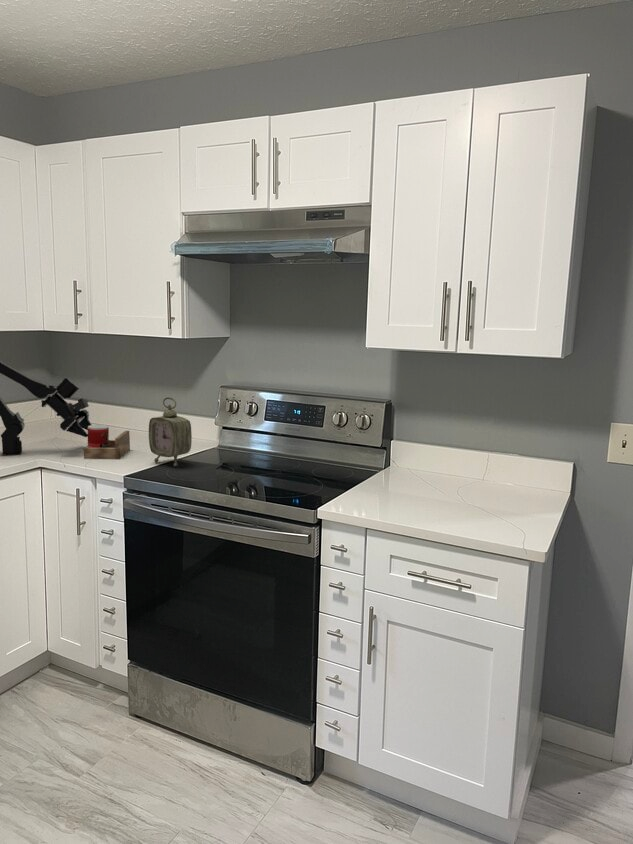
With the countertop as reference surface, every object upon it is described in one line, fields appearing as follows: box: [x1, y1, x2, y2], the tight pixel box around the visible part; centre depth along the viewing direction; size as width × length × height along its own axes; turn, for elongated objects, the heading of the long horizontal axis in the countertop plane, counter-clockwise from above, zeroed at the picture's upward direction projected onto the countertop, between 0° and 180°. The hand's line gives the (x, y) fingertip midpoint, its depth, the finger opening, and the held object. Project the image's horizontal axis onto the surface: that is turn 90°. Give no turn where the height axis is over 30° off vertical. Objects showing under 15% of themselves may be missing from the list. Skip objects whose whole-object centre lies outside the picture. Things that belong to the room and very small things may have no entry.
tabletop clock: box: [148, 397, 193, 467], centre depth 238 cm, size 14×9×25 cm, turn 54°
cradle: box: [83, 430, 131, 460], centre depth 253 cm, size 14×16×8 cm
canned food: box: [87, 424, 110, 448], centre depth 252 cm, size 8×8×11 cm
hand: (90, 434), depth 256 cm, fingers open, 9 cm apart
